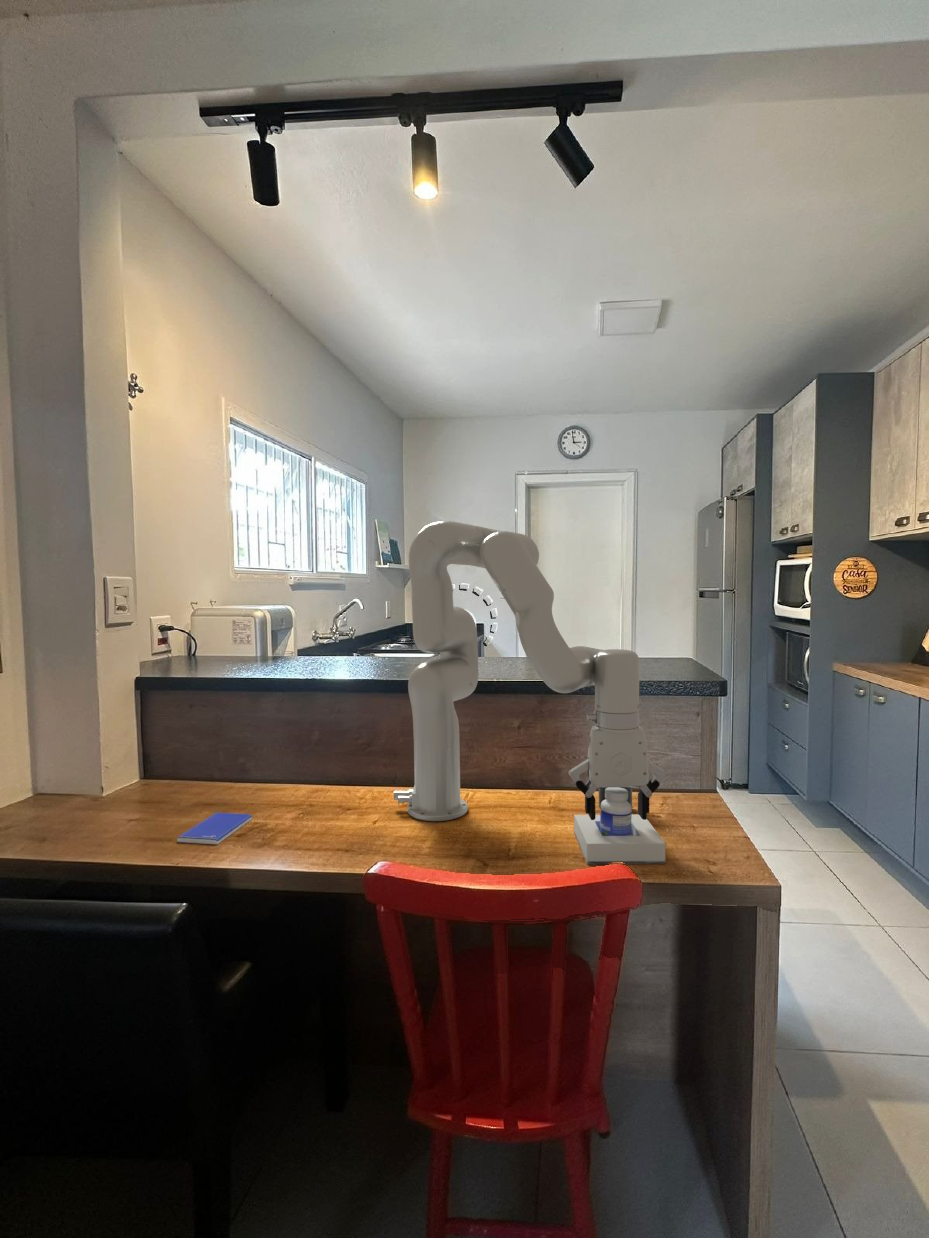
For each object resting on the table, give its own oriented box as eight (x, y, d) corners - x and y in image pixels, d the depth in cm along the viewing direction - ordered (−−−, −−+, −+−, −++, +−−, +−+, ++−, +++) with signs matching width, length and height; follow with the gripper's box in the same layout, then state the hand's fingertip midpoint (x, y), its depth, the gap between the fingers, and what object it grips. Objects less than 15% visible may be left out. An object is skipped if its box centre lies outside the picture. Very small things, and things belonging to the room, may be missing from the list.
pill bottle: (595, 838, 110) (596, 785, 110) (624, 837, 111) (624, 784, 110) (606, 851, 104) (607, 795, 104) (636, 849, 105) (636, 794, 105)
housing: (587, 864, 101) (587, 843, 101) (574, 832, 114) (574, 814, 114) (665, 863, 101) (665, 843, 101) (643, 832, 114) (643, 814, 114)
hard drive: (217, 838, 111) (252, 813, 123) (177, 836, 112) (215, 811, 125) (217, 847, 111) (252, 821, 123) (177, 844, 112) (215, 819, 125)
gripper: (570, 725, 103) (571, 825, 104) (673, 724, 102) (673, 825, 103) (564, 715, 110) (564, 809, 111) (659, 715, 110) (659, 809, 111)
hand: (616, 816), depth 107 cm, fingers open, 8 cm apart
